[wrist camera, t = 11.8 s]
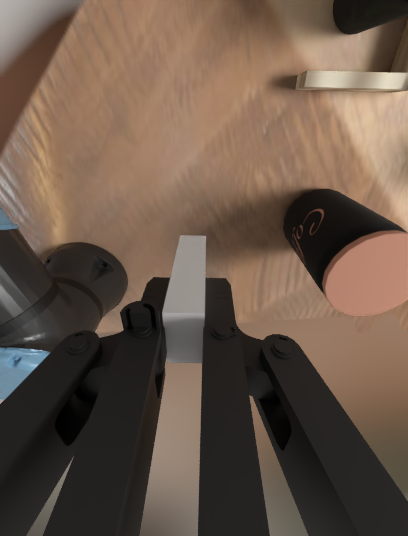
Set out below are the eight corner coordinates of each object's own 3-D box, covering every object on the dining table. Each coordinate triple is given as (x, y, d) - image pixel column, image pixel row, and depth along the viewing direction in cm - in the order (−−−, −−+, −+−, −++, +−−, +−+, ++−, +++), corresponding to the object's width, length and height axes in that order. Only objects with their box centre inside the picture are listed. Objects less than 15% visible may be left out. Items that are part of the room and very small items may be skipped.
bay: (295, 89, 31) (307, 85, 27) (329, -102, 23) (354, -147, 19) (400, 92, 31) (428, 88, 27) (470, -98, 23) (524, -143, 19)
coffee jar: (291, 183, 38) (348, 228, 22) (357, 189, 38) (457, 237, 23) (274, 244, 43) (311, 313, 28) (332, 249, 44) (399, 319, 28)
